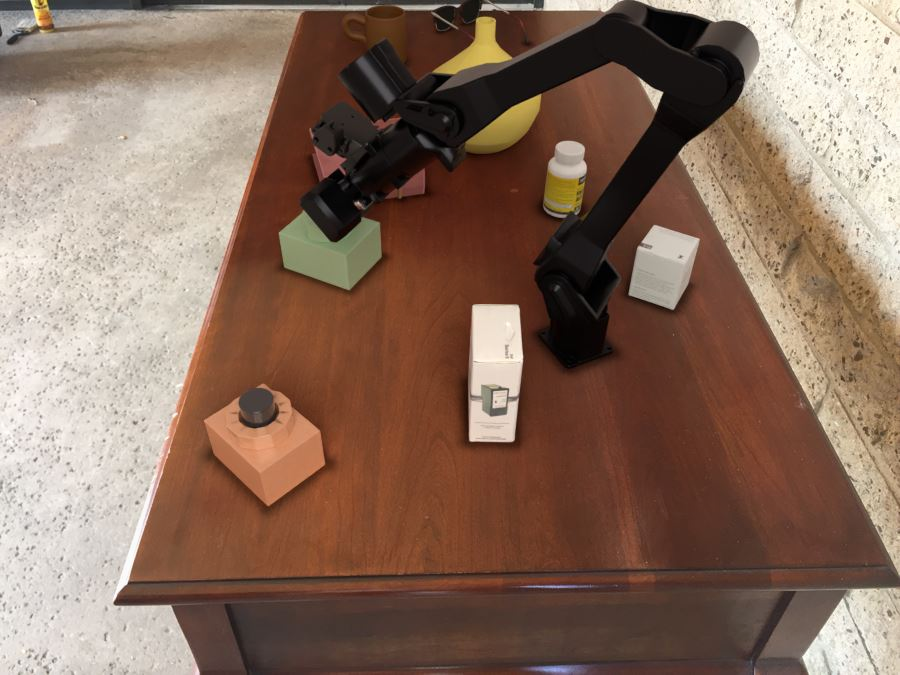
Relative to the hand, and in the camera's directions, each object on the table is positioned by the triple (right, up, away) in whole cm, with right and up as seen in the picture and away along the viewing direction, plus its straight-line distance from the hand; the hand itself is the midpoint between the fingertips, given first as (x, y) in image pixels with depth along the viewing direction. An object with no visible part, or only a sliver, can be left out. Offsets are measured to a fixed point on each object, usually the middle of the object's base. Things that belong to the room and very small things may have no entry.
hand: (327, 209), depth 96 cm
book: (+3, +8, +21) cm, 23 cm away
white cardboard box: (+41, -10, +2) cm, 43 cm away
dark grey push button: (-3, -23, -23) cm, 33 cm away
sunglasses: (+22, +45, +61) cm, 79 cm away
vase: (+20, +16, +30) cm, 40 cm away
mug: (+1, +36, +52) cm, 64 cm away
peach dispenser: (-3, -28, -19) cm, 34 cm away
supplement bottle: (+31, +2, +16) cm, 35 cm away
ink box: (+19, -24, -13) cm, 34 cm away
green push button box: (0, -6, +6) cm, 8 cm away
